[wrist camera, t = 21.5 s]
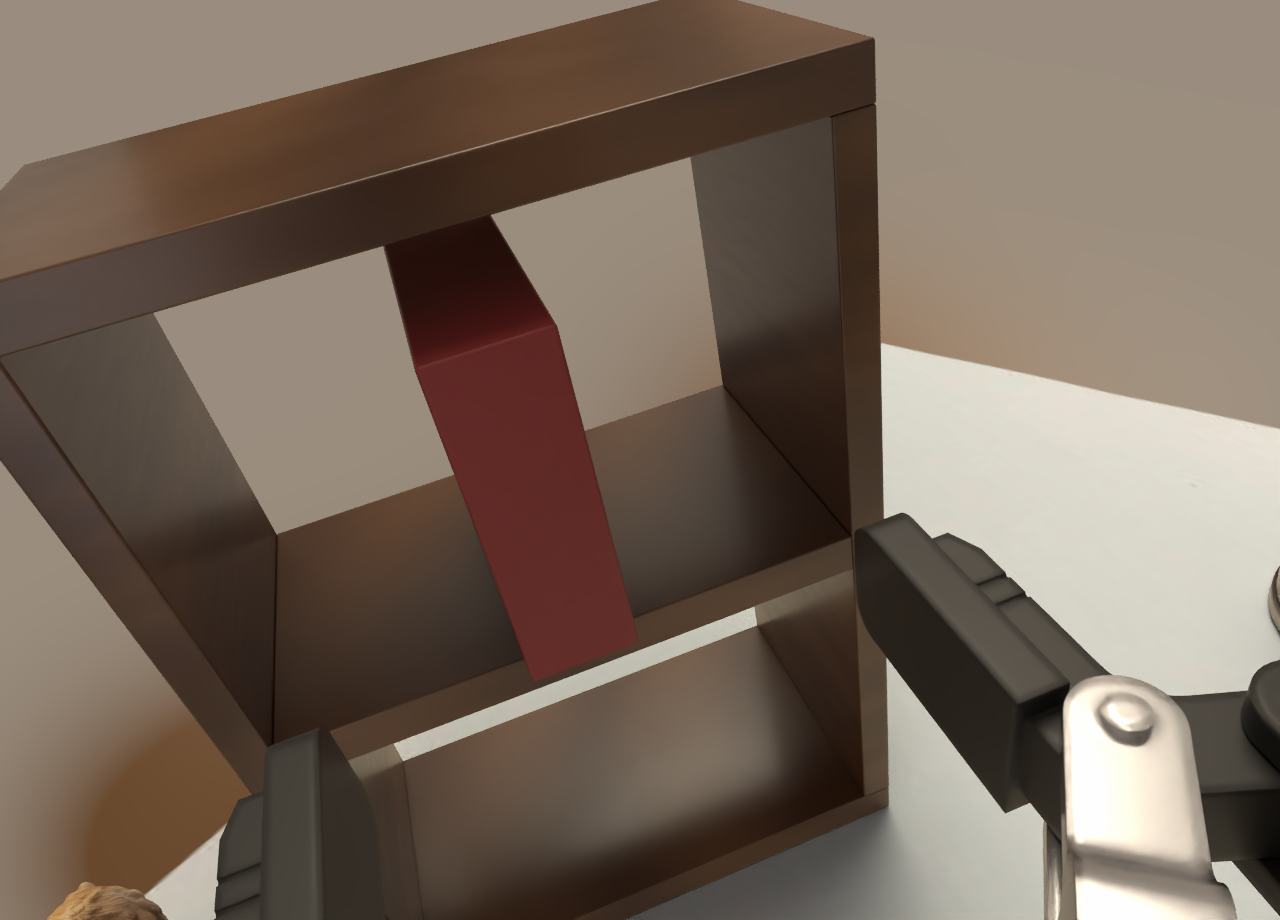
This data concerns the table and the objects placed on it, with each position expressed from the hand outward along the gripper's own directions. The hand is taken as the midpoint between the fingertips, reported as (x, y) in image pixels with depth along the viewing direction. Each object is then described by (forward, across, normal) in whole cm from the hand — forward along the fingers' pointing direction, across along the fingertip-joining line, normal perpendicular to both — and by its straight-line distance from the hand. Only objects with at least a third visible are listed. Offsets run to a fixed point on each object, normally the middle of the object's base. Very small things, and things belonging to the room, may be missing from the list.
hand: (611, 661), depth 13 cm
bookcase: (+16, 0, +27) cm, 31 cm away
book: (+14, 0, +10) cm, 18 cm away
